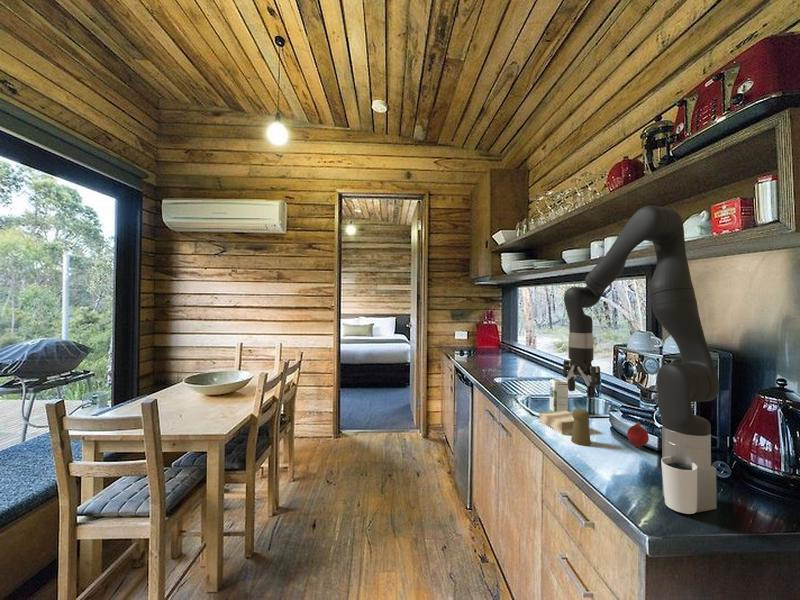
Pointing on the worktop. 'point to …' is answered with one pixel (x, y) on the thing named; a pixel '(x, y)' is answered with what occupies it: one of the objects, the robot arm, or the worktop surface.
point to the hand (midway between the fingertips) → (580, 394)
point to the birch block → (558, 421)
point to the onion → (637, 435)
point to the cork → (580, 428)
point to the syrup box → (558, 395)
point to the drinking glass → (679, 486)
